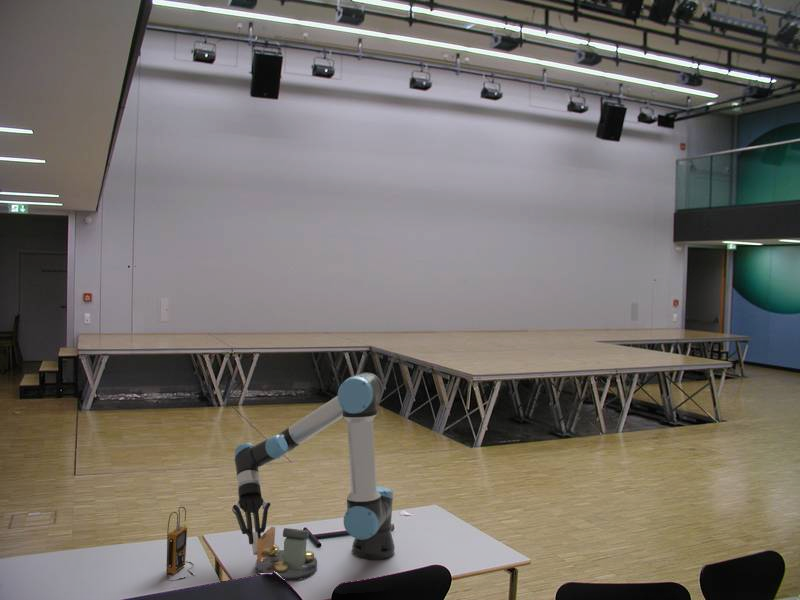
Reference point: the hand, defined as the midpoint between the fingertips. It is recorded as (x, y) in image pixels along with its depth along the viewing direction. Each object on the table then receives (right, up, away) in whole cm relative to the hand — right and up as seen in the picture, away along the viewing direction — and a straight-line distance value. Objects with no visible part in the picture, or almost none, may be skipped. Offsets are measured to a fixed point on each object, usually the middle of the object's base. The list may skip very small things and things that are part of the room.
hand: (256, 553), depth 227 cm
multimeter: (-22, -6, -2) cm, 23 cm away
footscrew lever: (+2, -4, +5) cm, 7 cm away
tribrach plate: (+9, -7, +6) cm, 13 cm away
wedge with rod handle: (+12, -5, +3) cm, 13 cm away
